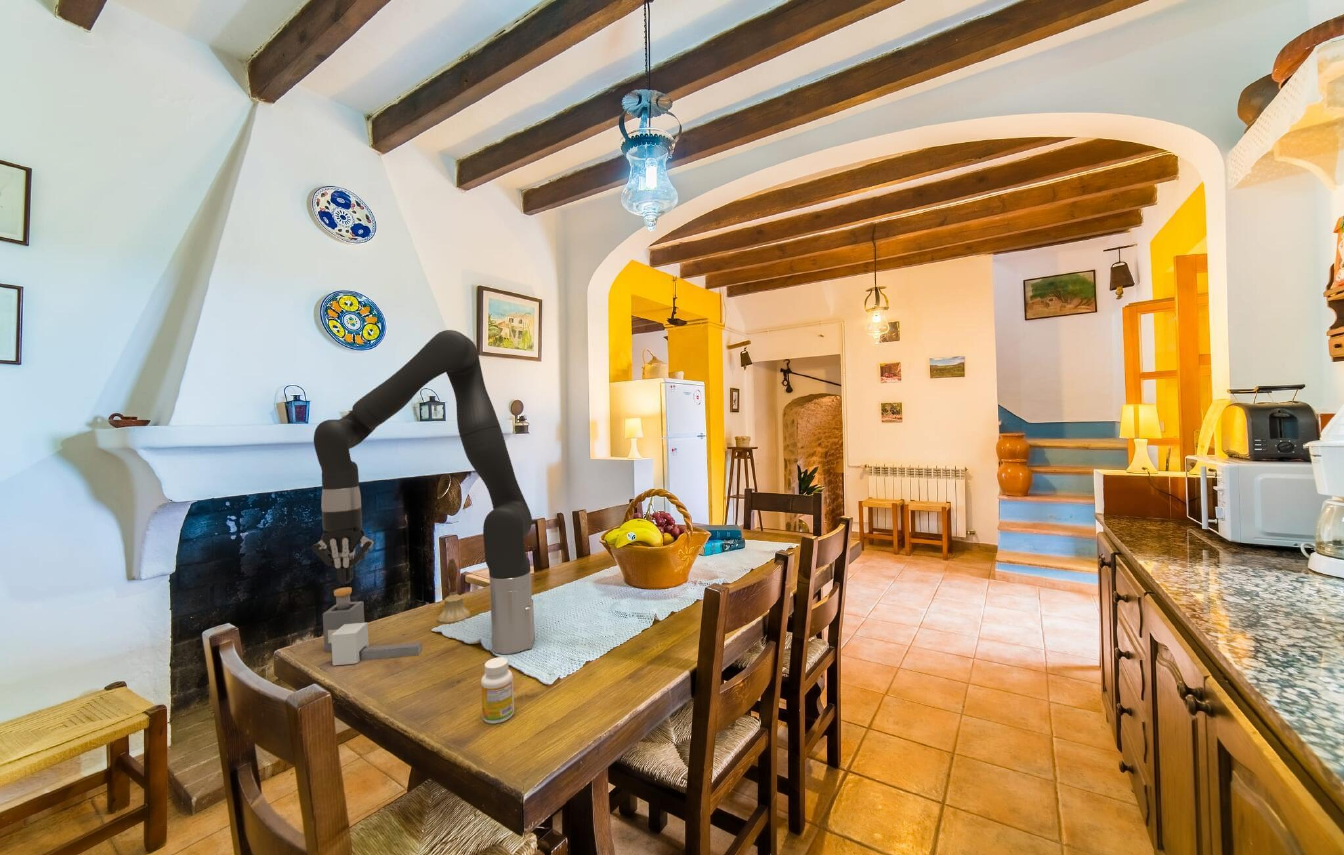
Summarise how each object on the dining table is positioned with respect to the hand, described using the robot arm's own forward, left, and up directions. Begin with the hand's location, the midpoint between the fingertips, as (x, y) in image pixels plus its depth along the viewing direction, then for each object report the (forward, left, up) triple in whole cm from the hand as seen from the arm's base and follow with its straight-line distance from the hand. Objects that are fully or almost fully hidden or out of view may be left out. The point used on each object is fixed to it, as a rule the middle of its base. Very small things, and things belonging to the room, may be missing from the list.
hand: (345, 582), depth 118 cm
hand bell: (-18, -20, -18) cm, 32 cm away
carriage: (-1, +1, -17) cm, 17 cm away
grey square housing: (+4, -8, -17) cm, 19 cm away
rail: (-7, +1, -17) cm, 18 cm away
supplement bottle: (-39, +31, -17) cm, 53 cm away
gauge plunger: (+4, -8, -9) cm, 13 cm away
